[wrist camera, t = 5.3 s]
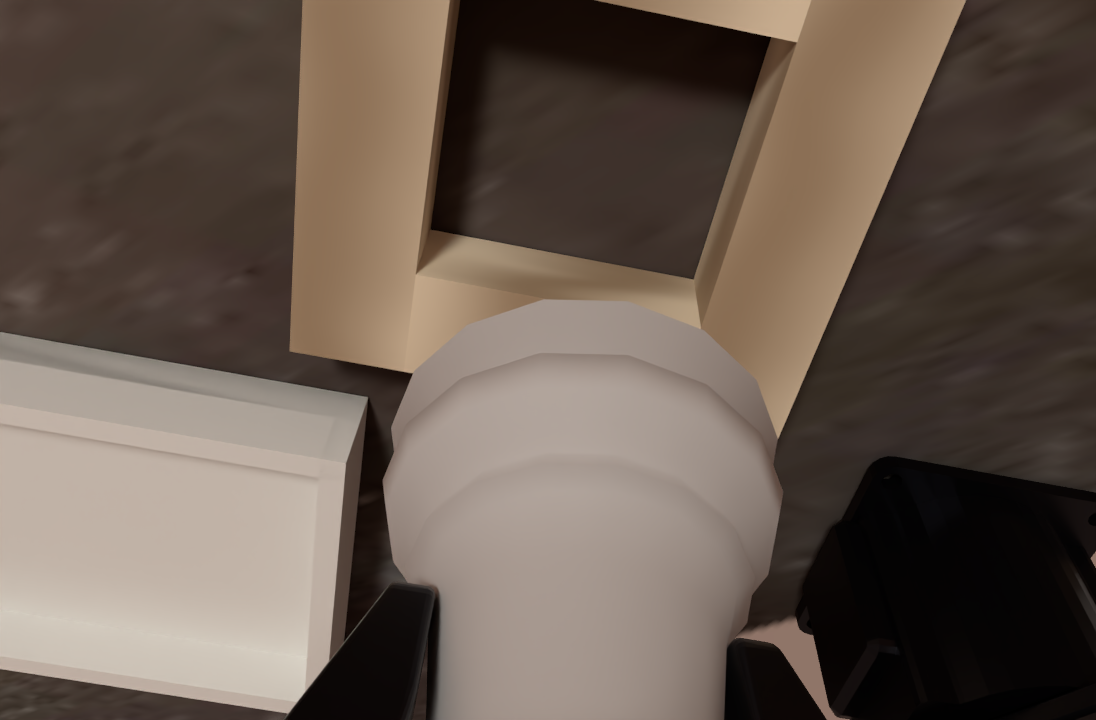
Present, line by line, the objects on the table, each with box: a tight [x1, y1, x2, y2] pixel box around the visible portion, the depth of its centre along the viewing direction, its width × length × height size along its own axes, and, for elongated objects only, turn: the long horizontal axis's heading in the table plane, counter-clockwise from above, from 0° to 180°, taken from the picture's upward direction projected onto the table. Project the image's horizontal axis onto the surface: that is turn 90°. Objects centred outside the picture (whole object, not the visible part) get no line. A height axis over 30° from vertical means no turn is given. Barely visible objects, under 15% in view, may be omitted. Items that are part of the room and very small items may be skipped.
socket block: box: [290, 0, 966, 438], centre depth 19 cm, size 11×11×2 cm
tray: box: [0, 332, 368, 713], centre depth 25 cm, size 12×10×2 cm
